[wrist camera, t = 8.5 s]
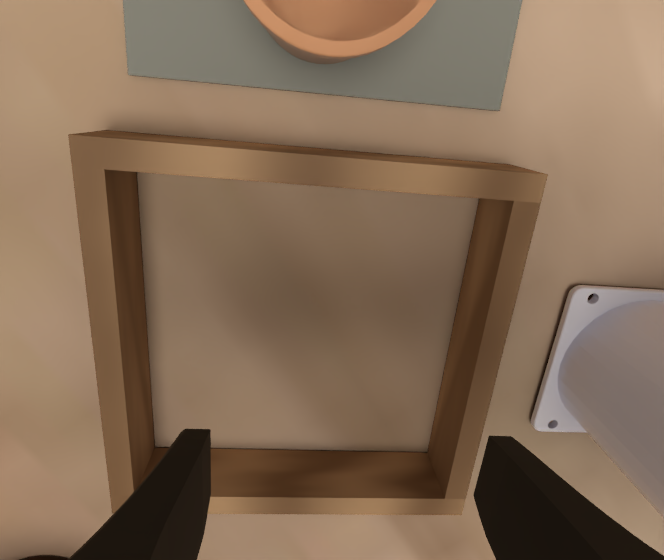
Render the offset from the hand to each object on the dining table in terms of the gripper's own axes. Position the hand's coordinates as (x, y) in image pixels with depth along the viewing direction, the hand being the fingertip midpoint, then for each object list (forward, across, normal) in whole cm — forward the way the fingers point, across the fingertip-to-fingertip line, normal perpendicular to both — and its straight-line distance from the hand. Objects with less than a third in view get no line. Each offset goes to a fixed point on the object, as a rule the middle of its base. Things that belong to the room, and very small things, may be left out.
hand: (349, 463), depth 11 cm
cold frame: (+9, +1, +1) cm, 10 cm away
